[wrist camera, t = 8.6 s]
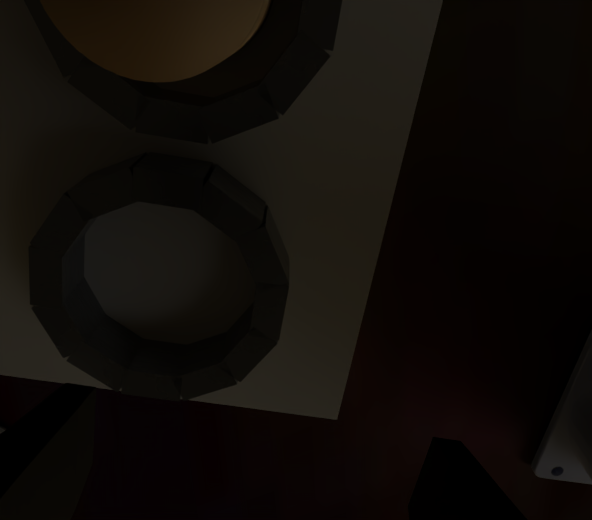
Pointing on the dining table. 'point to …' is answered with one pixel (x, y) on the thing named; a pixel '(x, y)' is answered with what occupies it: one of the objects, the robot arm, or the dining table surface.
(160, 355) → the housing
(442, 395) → the dining table surface
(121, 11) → the tan rounded capsule
